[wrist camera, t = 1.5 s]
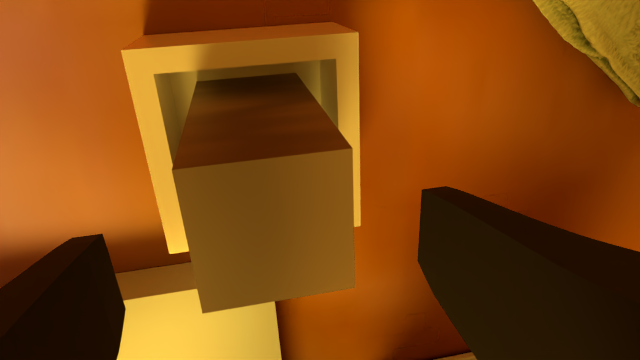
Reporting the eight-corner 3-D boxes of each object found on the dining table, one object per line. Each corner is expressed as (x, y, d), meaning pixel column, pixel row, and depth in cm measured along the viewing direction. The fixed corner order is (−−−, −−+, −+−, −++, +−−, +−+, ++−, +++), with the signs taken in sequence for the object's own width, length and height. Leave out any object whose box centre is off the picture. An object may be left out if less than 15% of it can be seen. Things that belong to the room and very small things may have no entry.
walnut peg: (295, 72, 18) (352, 148, 10) (302, 161, 20) (355, 287, 12) (196, 81, 17) (171, 169, 9) (212, 172, 19) (202, 313, 11)
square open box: (332, 21, 18) (358, 32, 15) (338, 184, 21) (360, 225, 18) (142, 35, 17) (120, 50, 13) (179, 205, 20) (169, 254, 17)
